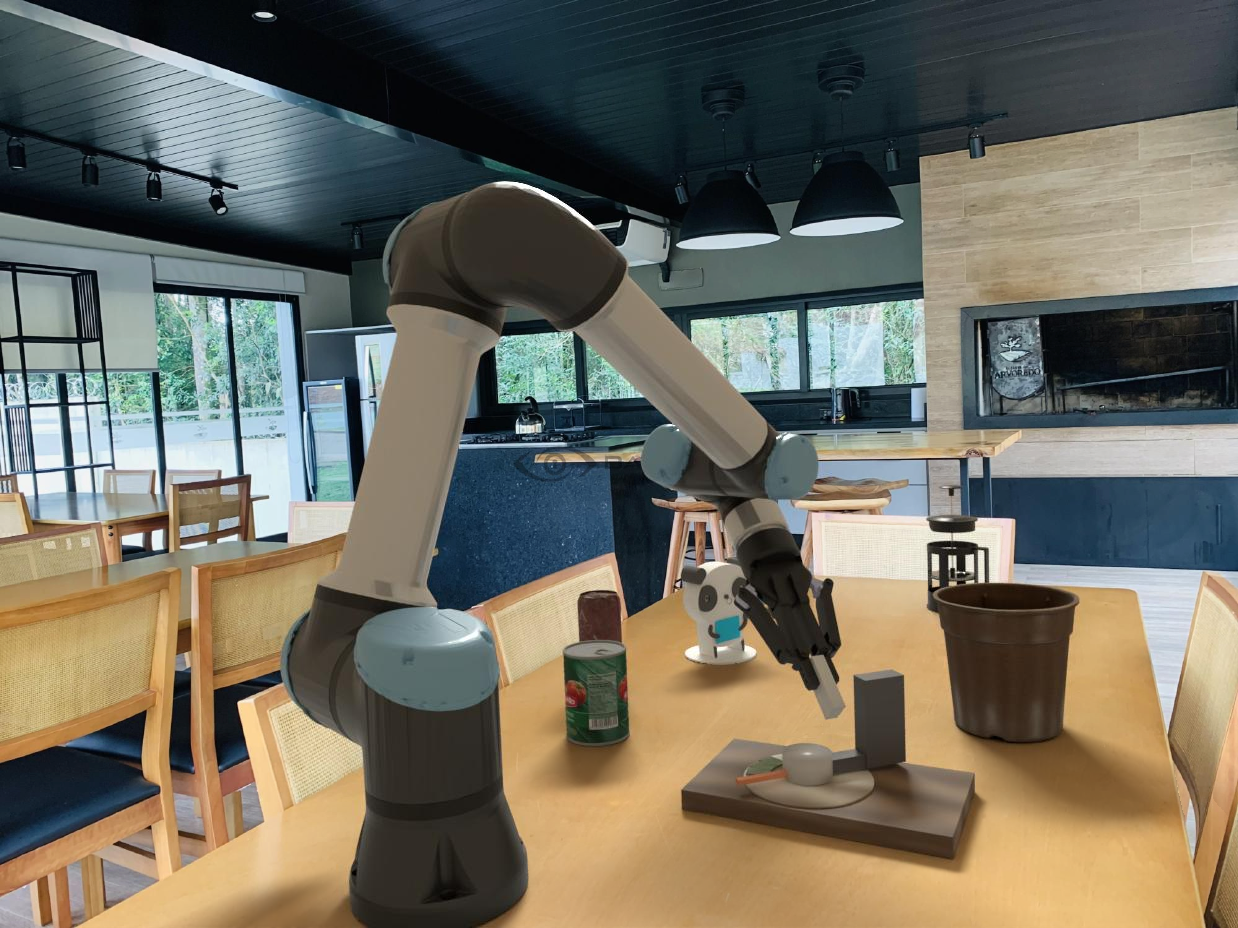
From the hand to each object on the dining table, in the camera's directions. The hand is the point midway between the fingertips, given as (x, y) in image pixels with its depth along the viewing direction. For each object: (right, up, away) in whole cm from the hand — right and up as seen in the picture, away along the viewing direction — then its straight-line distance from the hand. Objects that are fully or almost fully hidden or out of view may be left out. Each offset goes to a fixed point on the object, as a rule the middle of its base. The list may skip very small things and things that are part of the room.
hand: (835, 712), depth 103 cm
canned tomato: (-27, -6, +12) cm, 30 cm away
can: (-26, -5, +30) cm, 40 cm away
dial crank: (-3, -4, -8) cm, 9 cm away
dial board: (-3, -7, -9) cm, 11 cm away
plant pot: (+23, -4, +10) cm, 25 cm away
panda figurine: (-8, -3, +45) cm, 46 cm away
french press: (+39, +1, +69) cm, 79 cm away
